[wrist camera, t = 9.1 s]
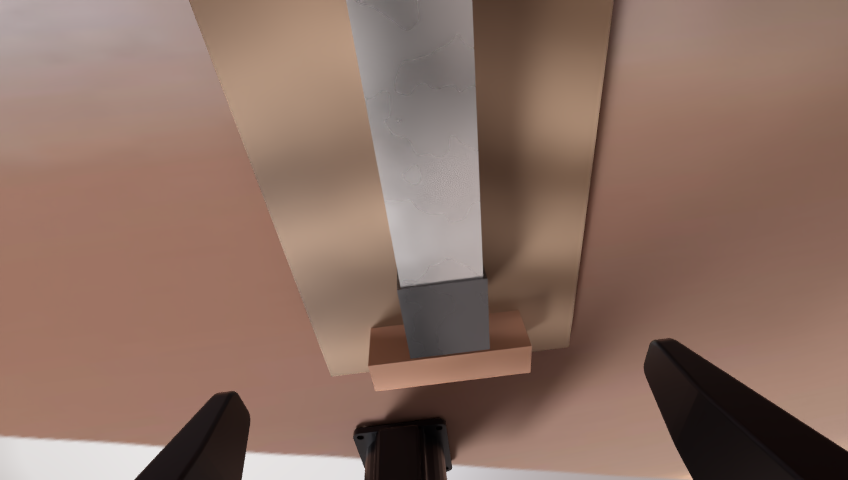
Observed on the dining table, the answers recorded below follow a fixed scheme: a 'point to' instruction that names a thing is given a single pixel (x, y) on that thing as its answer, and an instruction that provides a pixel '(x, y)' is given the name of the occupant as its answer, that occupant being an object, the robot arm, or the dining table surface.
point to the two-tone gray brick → (427, 163)
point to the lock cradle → (360, 182)
